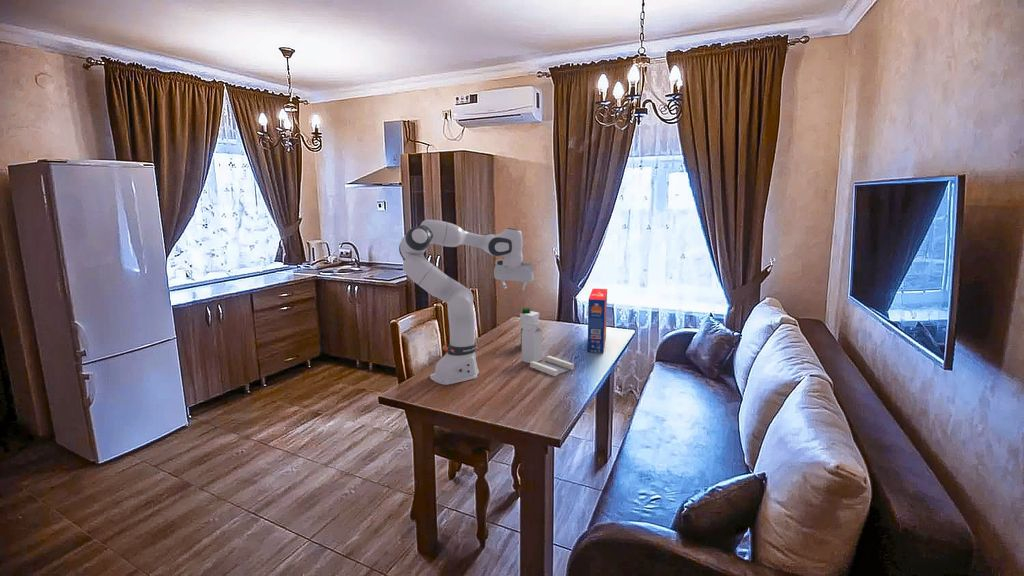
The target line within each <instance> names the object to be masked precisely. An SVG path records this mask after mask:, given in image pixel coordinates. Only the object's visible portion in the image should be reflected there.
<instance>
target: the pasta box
mask: <svg viewBox="0 0 1024 576" xmlns="http://www.w3.org/2000/svg"><path fill="white" fill-rule="evenodd" d="M589 294H590V295H589V296H588V304H587V305H588V307H587V308H588V309H587V311H588V312H587V313H588V316H587V318H588V320H587V354H589V353H592V354H604V352H605V346H606V340H607V313H608V312H607V309H608V308H607V307H608V289H607V288H592V290H591V291H590V293H589Z"/></svg>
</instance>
